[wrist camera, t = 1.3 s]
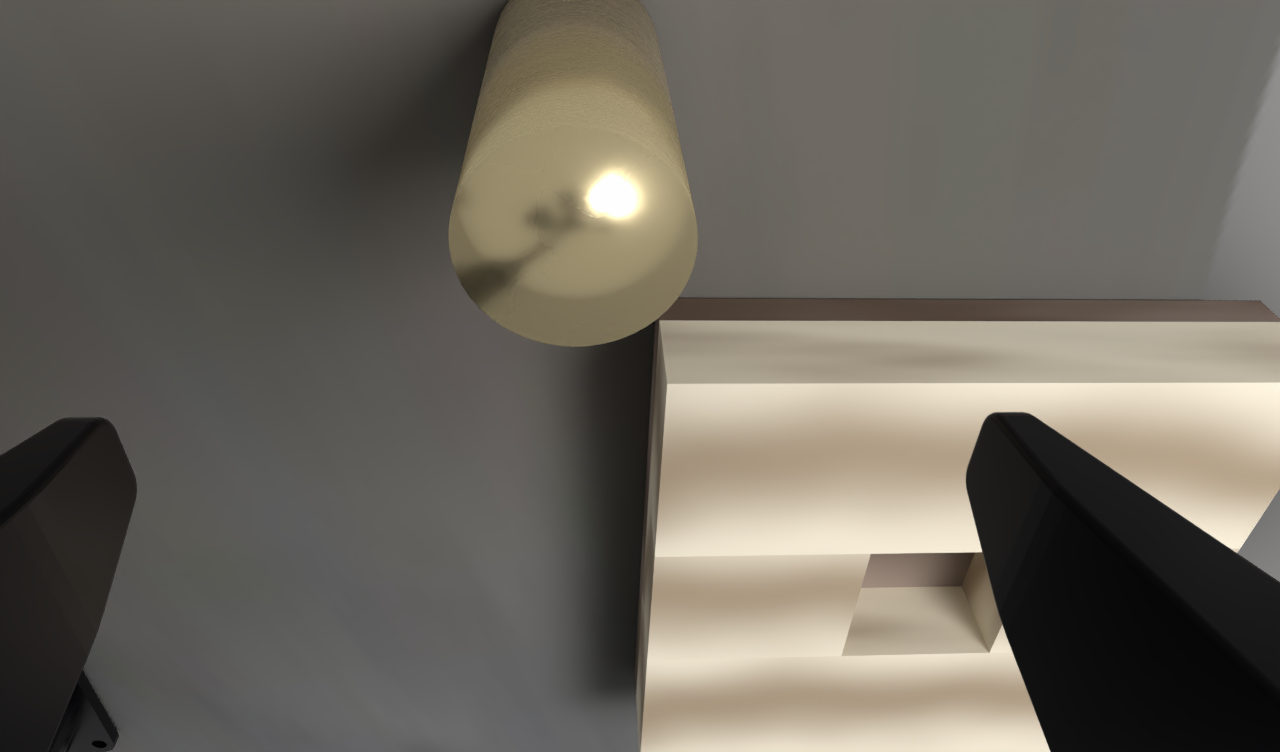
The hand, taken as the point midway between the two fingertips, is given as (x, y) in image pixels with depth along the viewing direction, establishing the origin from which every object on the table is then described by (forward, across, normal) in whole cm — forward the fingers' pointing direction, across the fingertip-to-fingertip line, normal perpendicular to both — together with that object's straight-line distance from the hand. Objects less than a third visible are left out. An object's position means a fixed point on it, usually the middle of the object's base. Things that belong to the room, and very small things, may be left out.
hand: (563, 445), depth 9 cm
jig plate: (+12, -10, +14) cm, 21 cm away
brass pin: (+12, 0, 0) cm, 12 cm away
